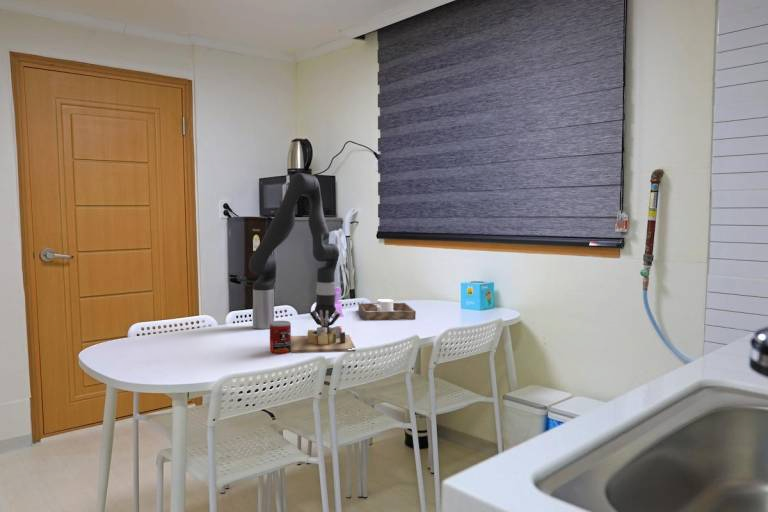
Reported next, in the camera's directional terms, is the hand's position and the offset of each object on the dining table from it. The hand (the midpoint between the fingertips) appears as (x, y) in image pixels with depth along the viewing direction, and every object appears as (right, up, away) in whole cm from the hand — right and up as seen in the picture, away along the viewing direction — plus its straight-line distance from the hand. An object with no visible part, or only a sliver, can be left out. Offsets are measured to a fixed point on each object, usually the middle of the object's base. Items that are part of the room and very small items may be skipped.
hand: (325, 335), depth 235 cm
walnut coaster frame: (+25, +2, +59) cm, 64 cm away
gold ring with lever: (+1, -1, -4) cm, 5 cm away
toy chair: (-1, +2, +54) cm, 54 cm away
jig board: (-1, -3, -7) cm, 7 cm away
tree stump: (+25, +1, +58) cm, 63 cm away
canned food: (-15, -4, -19) cm, 25 cm away
